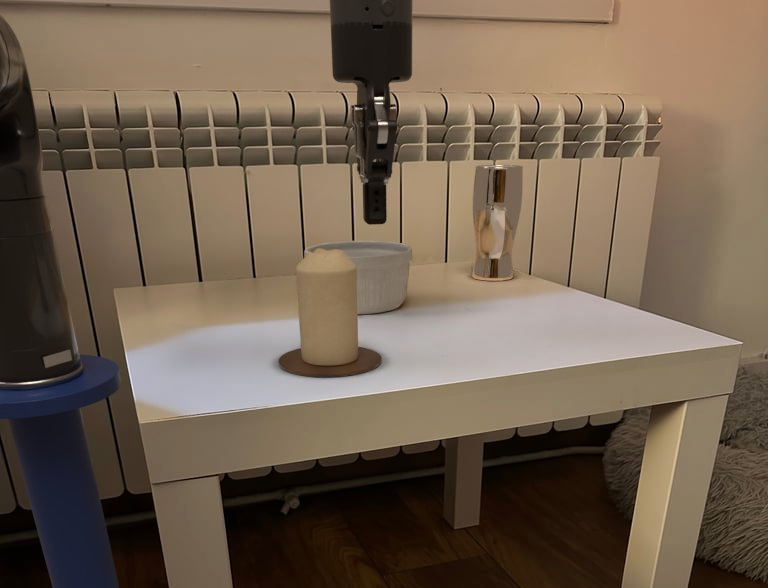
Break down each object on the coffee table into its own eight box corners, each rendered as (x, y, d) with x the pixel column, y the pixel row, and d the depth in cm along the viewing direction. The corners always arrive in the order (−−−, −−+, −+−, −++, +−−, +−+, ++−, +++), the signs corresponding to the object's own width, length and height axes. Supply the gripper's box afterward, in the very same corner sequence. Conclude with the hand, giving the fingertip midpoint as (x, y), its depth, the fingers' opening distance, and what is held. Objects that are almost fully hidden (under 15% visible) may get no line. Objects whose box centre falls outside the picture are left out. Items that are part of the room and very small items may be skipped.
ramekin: (310, 319, 86) (307, 258, 82) (304, 296, 97) (300, 241, 94) (420, 314, 87) (421, 254, 84) (401, 292, 99) (401, 238, 96)
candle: (312, 369, 67) (306, 256, 63) (294, 354, 72) (287, 247, 67) (367, 362, 69) (365, 252, 65) (346, 347, 74) (342, 243, 69)
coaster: (280, 380, 66) (280, 376, 65) (276, 350, 74) (276, 347, 74) (389, 374, 67) (389, 370, 67) (373, 345, 76) (373, 342, 76)
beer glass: (459, 277, 109) (463, 166, 101) (489, 271, 113) (495, 164, 106) (495, 283, 104) (503, 168, 97) (525, 277, 108) (534, 165, 101)
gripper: (324, 29, 72) (332, 217, 80) (338, 11, 60) (346, 233, 69) (398, 30, 73) (399, 215, 81) (426, 12, 61) (424, 230, 70)
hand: (375, 223), depth 75 cm, fingers closed
